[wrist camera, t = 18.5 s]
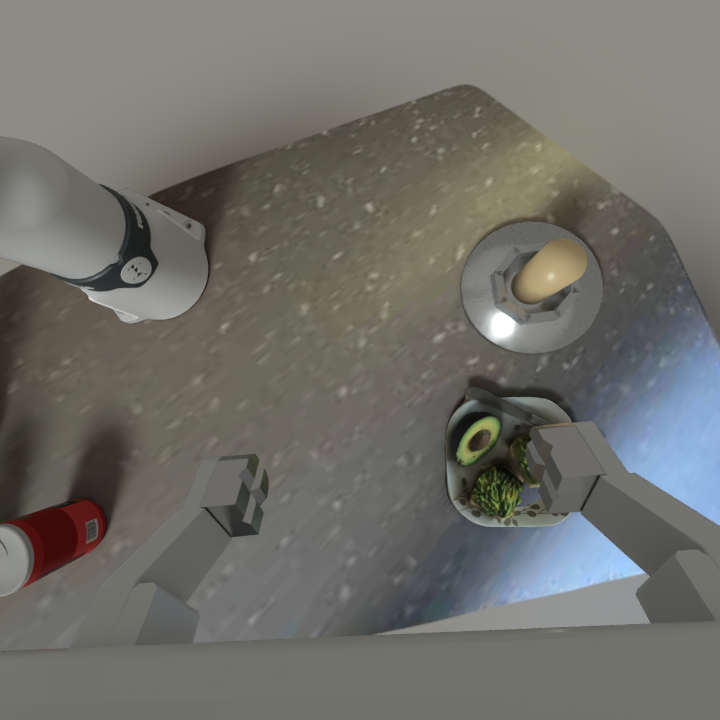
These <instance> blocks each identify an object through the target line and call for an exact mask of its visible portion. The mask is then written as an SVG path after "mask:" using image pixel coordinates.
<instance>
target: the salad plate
mask: <svg viewBox="0 0 720 720" xmlns="http://www.w3.org/2000/svg"><path fill="white" fill-rule="evenodd" d="M463 391H464V394H465V395H466V398H465V400H464V401H463V403H462V404H461V405H460V406H459V407H458V408H457V409H456V410H455V411H454V412H453V414H452V415H451V417H450V419H449V421H448V423H447V427H446V433H445V459H446V476H445V483H446V489H447V496H448V498H449V500H450V502H451V503H452V505H453V506H454V507H455V508H456V509H457V510H458V511H459V512H460V513H461V514H462V515H463V516H465V517H466V518H467V519H468V520H470V521H471V522H473V523H475V524H478V525H483V526H488V527H523V526H524V527H531V528H532V527H541V526H553V525H557V524H559V523H560V522H562V521H564V520H565V519H566V518H567V517H568V516H569V515H570V514H571V513H572V512H570V513H548V512H547V510H546V508H545V505H544V503H543V501H542V499H540V500H538V501H537V502H535V503H533V504H530V505H527V506H523V507H515V505H516V504H520V503H521V497H519V496H518V494H519V492H520V491H522V489H523V486H522V483H523V482H524V481H525V482H526V483H527V485H528V486H529V487H530V488H534V487H539V486H540V482H539V481H537V480H536V479H535V478H533V477H532V475H531V473H530V471H529V468H528V465H527V461H526V452H525V451H526V446H527V444H528V443H529V442H530V441H532V439H531V437H530V435H529V434H530V430H531V428H532V427H533V426H542V425H551V424H560V423H572V421H571V420H570V418H569V417H568V415H567V414H566V413H565V412H564V411H563V410H562V409H561V408H560V407H558V406H557V405H556V404H555V403H553V402H551V401H550V400H547V399H544V398H537V397H505V398H498V397H496V396H495V395H494V394H493V393H491V392H489V391H486V390H483V389H481V388H477V387H473V386H471V387H469V388H467V389H463ZM516 424H518V425H519V426H520V429H519V430H517V429H515V425H516ZM497 465H499V466H500V467H501V468H498V467H497ZM465 478H466V479H467V481H466V479H465Z"/></svg>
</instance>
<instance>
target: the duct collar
mask: <svg viewBox="0 0 720 720" xmlns="http://www.w3.org/2000/svg"><path fill="white" fill-rule="evenodd" d="M556 239H569V240H572V241H575V242H576V243H578V244H579V245H580V246H581V247H582V248H583V249H584V251H585V253H586V255H587V268H586V270H585V272H584V274H583V275H582V276H581V277H580V278H579V279H577V280H576V281H574V282H573V283H571V284H569V285H568V286H566V287H564V288H563V289H561V290H560V291H558V292H556V293H555V294H553V295H551V296H550V297H548V298H546V299H545V300H543V301H542V302H540V303H537V304H533V305H528V304H524V303H521V302H520V301H518V300H517V299H516V298H515V297H514V295H513V294H512V291H511V281H512V279H513V277H514V276H515V274H516V273H517V272H518V271H519V270H520V269H521V268H522V267H523V266H524V265H526V264H527V263H528V262H529V261H530V260H531V259H532V258H533V257H534V256H535V255H536V254H537V253H538V252H539V251H540V250H541V249H542V248H543V247H544V246H545V245H546V244H547V243H549V242H551V241H553V240H556ZM460 294H461V301H462V306H463V308H464V311H465V314H466V316H467V318H468V320H469V322H470V323H471V324H472V326H473V327H474V329H475V330H476V331H477V332H478V333H479V334H480V335H481V336H482V337H484V338H485V339H486V340H487V341H489V342H490V343H492V344H493V345H495V346H497V347H499V348H501V349H504V350H507V351H510V352H514V353H519V354H541V353H546V352H550V351H554V350H557V349H560V348H562V347H564V346H567V345H569V344H570V343H572V342H573V341H575V340H576V339H578V338H579V337H580V336H581V335H582V334H584V332H585V331H586V330H587V329H588V328H589V327H590V325H591V324H592V322H593V321H594V320H595V318H596V315H597V313H598V311H599V308H600V305H601V301H602V296H603V281H602V275H601V271H600V268H599V265H598V263H597V260H596V259H595V257H594V255H593V253H592V252H591V251H590V249H589V248H588V247H587V246H586V245H585V244H584V243H583V242H582V241H581V240H580V239H579V238H578V237H576V236H575V235H574V234H572V233H571V232H569V231H567V230H565V229H563V228H561V227H558V226H556V225H552V224H549V223H543V222H519V223H515V224H511V225H508V226H505V227H502V228H500V229H498V230H496V231H494V232H493V233H491V234H490V235H488V236H487V237H486V238H485V239H483V240H482V241H481V242H480V243H479V244H478V245H477V247H476V248H475V249H474V250H473V252H472V253H471V255H470V257H469V258H468V260H467V262H466V264H465V267H464V270H463V273H462V277H461V284H460Z"/></svg>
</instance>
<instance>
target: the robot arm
mask: <svg viewBox="0 0 720 720" xmlns="http://www.w3.org/2000/svg"><path fill="white" fill-rule="evenodd" d="M190 226H191V228H190V229H189V227H190ZM204 242H205V227H204V226H203V225H202V224H200V223H199V222H197V221H195V220H193V219H191V218H189V217H187V216H185V215H183V214H181V213H179V212H176V211H174V210H172V209H170V208H168V207H166V206H164V205H162V204H160V203H158V202H156V201H154V200H152V199H150V198H148V197H146V196H144V195H141V194H139V193H137V192H135V191H133V190H131V189H123V190H121V191H119V192H117V191H115V190H113V189H110V188H109V187H106V186H104V185H101V184H97V183H96V182H94V181H93V180H91V179H90V178H89V177H87V176H86V175H84V174H83V173H81V172H80V171H78V170H77V169H75V168H74V167H73V166H71V165H70V164H68V163H67V162H65V161H64V160H62V159H61V158H60V157H58V156H57V155H55V154H54V153H52V152H51V151H49V150H48V149H46V148H44V147H42V146H39V145H37V144H34V143H31V142H27V141H24V140H20V139H15V138H9V137H2V136H0V258H2V259H6V260H10V261H13V262H17V263H20V264H24V265H27V266H31V267H34V268H37V269H40V270H43V271H46V272H49V273H50V274H52V275H53V276H54V277H56V278H58V279H60V280H62V281H64V282H66V283H68V284H70V285H73V286H76V287H79V288H81V290H82V291H84V292H85V293H86V294H87V295H88V296H89V299H90V300H91V301H93V302H96V303H98V304H101V305H104V306H106V307H109V308H112V309H113V310H114V311H115V312H116V314H117V315H118V317H119V318H120V319H121V320H122V321H124V322H126V323H129V324H132V323H136V322H139V321H142V320H144V319H158V320H162V319H169V318H173V317H176V316H178V315H180V314H182V313H184V312H185V311H187V310H188V309H189V308H191V307H192V306H193V305H194V304H195V302H196V301H197V300H198V299H199V297H200V296H201V294H202V292H203V290H204V288H205V285H206V282H207V277H208V261H207V256H206V253H205V249H204ZM529 435H530V437H531V439H532V441H530V442H529V443H528V444H527V446H526V451H525V452H526V461H527V465H528V468H529V471H530V473H531V475H532V477H533V478H535V479H536V480H537V481H539V482H540V486H539V490H538V492H539V494H540V496H541V499H542V501H543V503H544V505H545V508H546V510H547V512H548V513H570V512H581V514H582V515H583V516H584V517H585V518H586V519H587V520H588V521H589V522H590V523H591V524H593V525H594V526H595V527H596V528H597V529H598V530H599V531H600V532H601V533H603V534H604V535H605V536H606V537H607V538H608V539H609V540H610V541H611V542H612V543H614V544H615V545H616V546H617V547H618V548H619V549H620V550H621V551H622V552H623V553H625V554H626V555H627V556H628V557H629V558H630V559H631V560H632V561H633V562H635V563H636V564H637V565H638V566H639V567H640V568H641V569H642V570H643V571H644V572H646V573H647V574H648V575H649V576H650V578H649V579H647V580H646V582H644V583H643V584H642V585H641V586H640V587H639V588H638V590H637V592H636V596H637V598H638V600H639V602H640V604H641V605H642V608H643V609H644V611H645V613H646V615H647V617H648V619H649V621H650V623H651V624H628V625H606V626H581V627H559V628H534V629H513V630H512V629H510V630H489V631H488V630H487V631H464V632H442V633H441V632H440V633H416V634H395V635H369V636H346V637H322V638H299V639H275V640H251V641H228V642H204V643H193V639H194V636H195V632H196V629H197V625H198V621H199V618H200V615H199V613H198V611H196V610H195V609H193V608H192V607H190V606H189V605H187V604H186V602H187V600H188V599H189V597H190V596H191V595H192V593H193V592H194V591H195V589H196V588H197V586H198V585H199V584H200V582H201V581H202V579H203V578H204V577H205V575H206V574H207V573H208V571H209V570H210V568H211V567H212V566H213V564H214V563H215V561H216V560H217V559H218V557H219V556H220V555H221V553H222V552H223V550H224V549H225V548H226V546H227V545H228V544H229V542H230V541H231V539H232V538H231V537H240V536H250V535H259V530H260V526H261V521H262V517H263V511H262V509H261V507H260V505H261V504H262V503H263V502H264V501H265V500H266V498H267V494H268V476H267V473H266V471H265V469H264V468H263V467H261V466H259V465H258V463H259V459H258V457H257V456H256V454H247V455H234V456H220V457H209V458H205V459H204V460H203V462H202V463H201V465H200V467H199V470H198V472H197V474H196V477H195V479H194V482H193V484H192V487H191V489H190V491H189V494H188V496H187V499H186V501H185V504H184V506H183V508H182V510H177V511H176V512H175V513H174V514H173V515H172V516H171V517H170V518H169V519H168V520H167V521H166V522H165V523H164V524H163V525H162V526H161V527H160V528H159V529H158V530H157V531H156V532H155V533H154V534H153V535H152V536H151V537H150V538H149V539H147V540H146V541H145V542H144V543H143V544H142V545H141V546H140V547H139V548H138V549H137V550H136V551H135V552H134V553H133V554H132V555H131V556H130V557H129V558H128V559H127V560H126V561H125V562H124V563H123V564H122V565H121V566H120V567H119V568H118V569H117V570H116V571H115V572H114V573H113V574H112V575H111V576H110V577H109V578H108V579H107V580H106V581H105V582H104V583H103V584H102V585H101V587H100V589H99V591H98V593H97V595H96V597H95V599H94V601H93V603H92V605H91V607H90V609H89V611H88V613H87V615H86V617H85V619H84V621H83V623H82V625H81V627H80V629H79V631H78V633H77V635H76V637H75V639H74V640H73V642H72V644H71V646H70V648H63V649H39V650H16V651H0V720H720V526H719V525H717V524H716V523H714V522H713V521H711V520H709V519H708V518H706V517H705V516H703V515H701V514H700V513H698V512H697V511H695V510H693V509H692V508H690V507H689V506H687V505H685V504H684V503H682V502H681V501H679V500H677V499H676V498H674V497H673V496H671V495H670V494H668V493H666V492H665V491H663V490H662V489H660V488H658V487H657V486H655V485H654V484H652V483H650V482H649V481H647V480H646V479H644V478H642V477H641V476H639V475H638V474H636V473H628V471H627V470H626V468H625V467H624V465H623V464H622V462H621V461H620V460H619V458H618V457H617V455H616V454H615V452H614V451H613V449H612V448H611V447H610V445H609V444H608V442H607V441H606V439H605V438H604V436H603V435H602V434H601V432H600V431H599V429H598V428H597V426H596V425H595V424H594V423H593V422H591V421H583V422H575V423H560V424H551V425H542V426H533V427H532V428H531V430H530V434H529Z"/></svg>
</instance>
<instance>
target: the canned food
mask: <svg viewBox="0 0 720 720" xmlns="http://www.w3.org/2000/svg"><path fill="white" fill-rule="evenodd" d="M105 530H106V520H105V516H104V513H103V511H102V509H101V508H100V507H99V505H98V504H96V503H95V502H94V501H92V500H89V499H74V500H70V501H67V502H64V503H61V504H58V505H55V506H52V507H49V508H46V509H43V510H40V511H37V512H34V513H31V514H28V515H25V516H22V517H19V518H16V519H13V520H10V521H7V522H5V523H2V524H0V596H5V595H8V594H10V593H13V592H15V591H18V590H19V589H21V588H23V587H25V586H27V585H29V584H31V583H33V582H35V581H37V580H39V579H41V578H42V577H44V576H46V575H48V574H50V573H52V572H54V571H56V570H57V569H59V568H61V567H63V566H65V565H67V564H69V563H71V562H72V561H74V560H76V559H78V558H80V557H82V556H84V555H86V554H87V553H89V552H91V551H92V550H93V549H95V548H96V547H97V546H98V544H99V543H100V542H101V541H102V539H103V537H104V534H105Z"/></svg>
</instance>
